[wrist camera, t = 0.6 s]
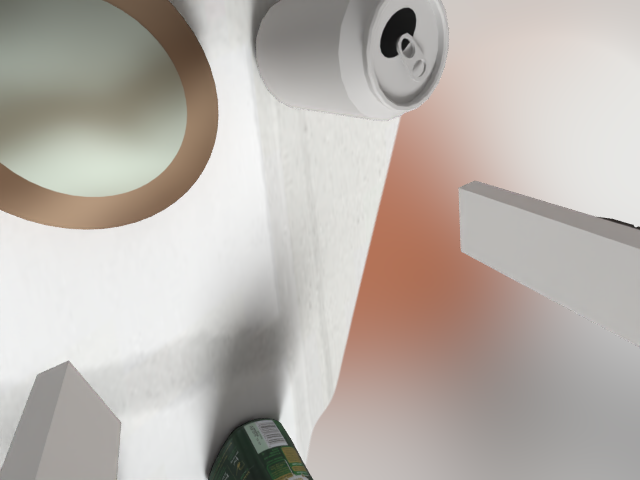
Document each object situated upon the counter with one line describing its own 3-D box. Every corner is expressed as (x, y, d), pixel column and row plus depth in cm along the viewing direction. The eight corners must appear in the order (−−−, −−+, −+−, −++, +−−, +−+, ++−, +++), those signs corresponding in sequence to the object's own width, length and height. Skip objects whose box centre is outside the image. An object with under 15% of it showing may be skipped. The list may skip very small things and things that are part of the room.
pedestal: (-204, 42, 15) (-250, 37, 12) (89, -104, 18) (96, -129, 16) (79, 255, 24) (83, 275, 21) (239, 131, 27) (258, 137, 25)
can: (299, -27, 25) (436, -78, 16) (347, 65, 30) (472, 63, 21) (228, 45, 24) (335, 31, 15) (290, 127, 29) (397, 152, 20)
